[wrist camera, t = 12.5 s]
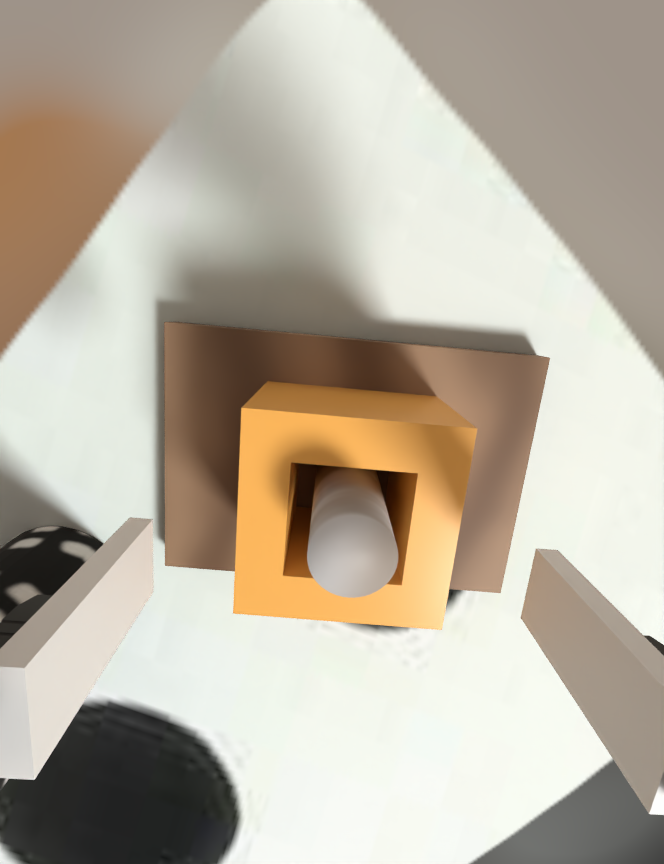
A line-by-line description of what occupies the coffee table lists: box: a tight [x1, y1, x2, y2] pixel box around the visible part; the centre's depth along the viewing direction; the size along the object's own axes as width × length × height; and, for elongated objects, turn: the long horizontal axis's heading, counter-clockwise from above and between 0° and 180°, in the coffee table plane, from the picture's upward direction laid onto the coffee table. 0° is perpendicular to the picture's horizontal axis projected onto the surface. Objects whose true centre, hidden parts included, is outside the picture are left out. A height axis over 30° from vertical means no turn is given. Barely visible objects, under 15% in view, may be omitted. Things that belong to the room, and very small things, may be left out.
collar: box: [233, 381, 477, 630], centre depth 22 cm, size 9×9×7 cm
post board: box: [164, 322, 550, 598], centre depth 21 cm, size 20×14×11 cm
